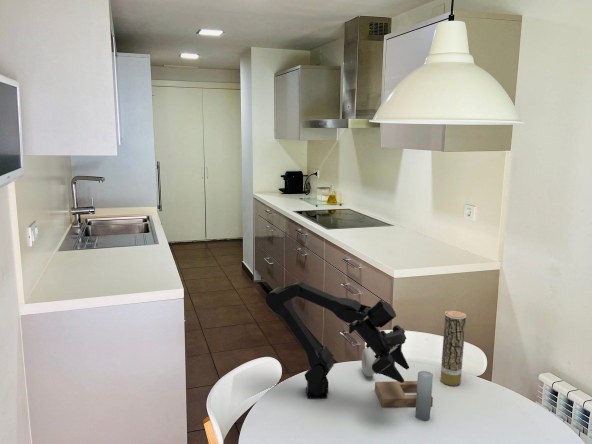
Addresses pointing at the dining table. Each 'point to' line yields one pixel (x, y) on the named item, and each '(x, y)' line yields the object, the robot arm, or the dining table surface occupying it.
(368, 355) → the donut
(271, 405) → the dining table surface
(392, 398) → the socket block
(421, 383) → the peg
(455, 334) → the bark textured cylinder
